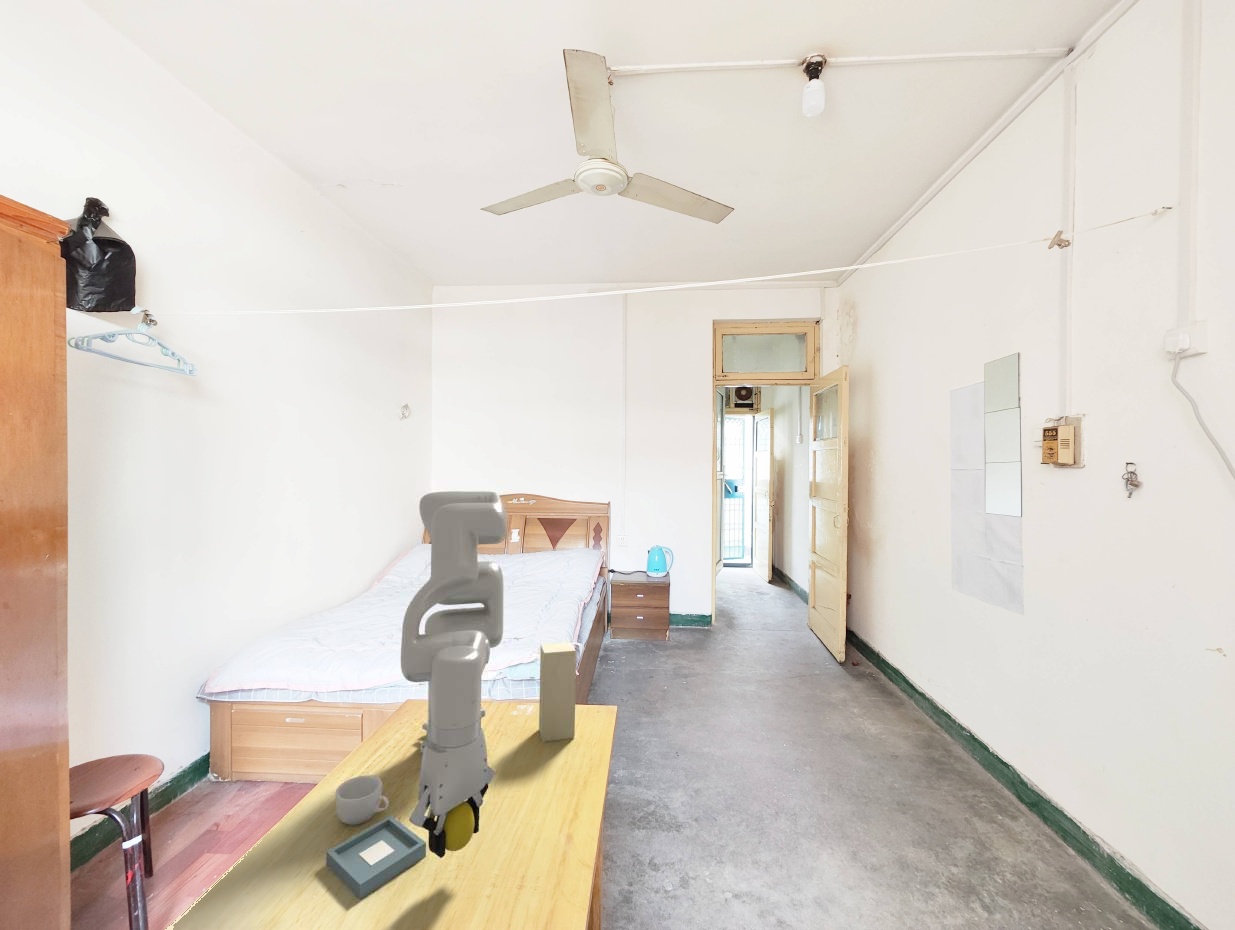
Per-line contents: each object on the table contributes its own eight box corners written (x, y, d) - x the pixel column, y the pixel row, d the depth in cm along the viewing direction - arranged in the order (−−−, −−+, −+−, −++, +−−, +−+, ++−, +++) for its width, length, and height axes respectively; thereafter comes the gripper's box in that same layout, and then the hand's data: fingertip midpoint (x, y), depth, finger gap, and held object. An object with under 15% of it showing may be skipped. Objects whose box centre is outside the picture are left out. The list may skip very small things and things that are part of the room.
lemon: (442, 837, 84) (443, 789, 84) (477, 836, 85) (477, 788, 84) (433, 865, 79) (433, 814, 78) (470, 863, 79) (471, 812, 79)
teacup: (324, 827, 93) (325, 797, 93) (355, 800, 100) (355, 772, 100) (373, 836, 91) (373, 805, 91) (400, 808, 98) (401, 779, 98)
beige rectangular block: (570, 723, 131) (570, 640, 131) (575, 738, 124) (576, 650, 124) (538, 727, 129) (539, 643, 129) (542, 742, 122) (543, 653, 122)
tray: (326, 864, 84) (326, 851, 84) (390, 827, 93) (390, 815, 93) (360, 899, 77) (360, 884, 77) (425, 855, 86) (426, 842, 86)
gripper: (484, 700, 90) (483, 801, 91) (391, 744, 77) (390, 862, 77) (513, 714, 86) (512, 820, 86) (420, 764, 72) (418, 889, 73)
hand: (454, 839), depth 82 cm, fingers closed on lemon, 5 cm apart
